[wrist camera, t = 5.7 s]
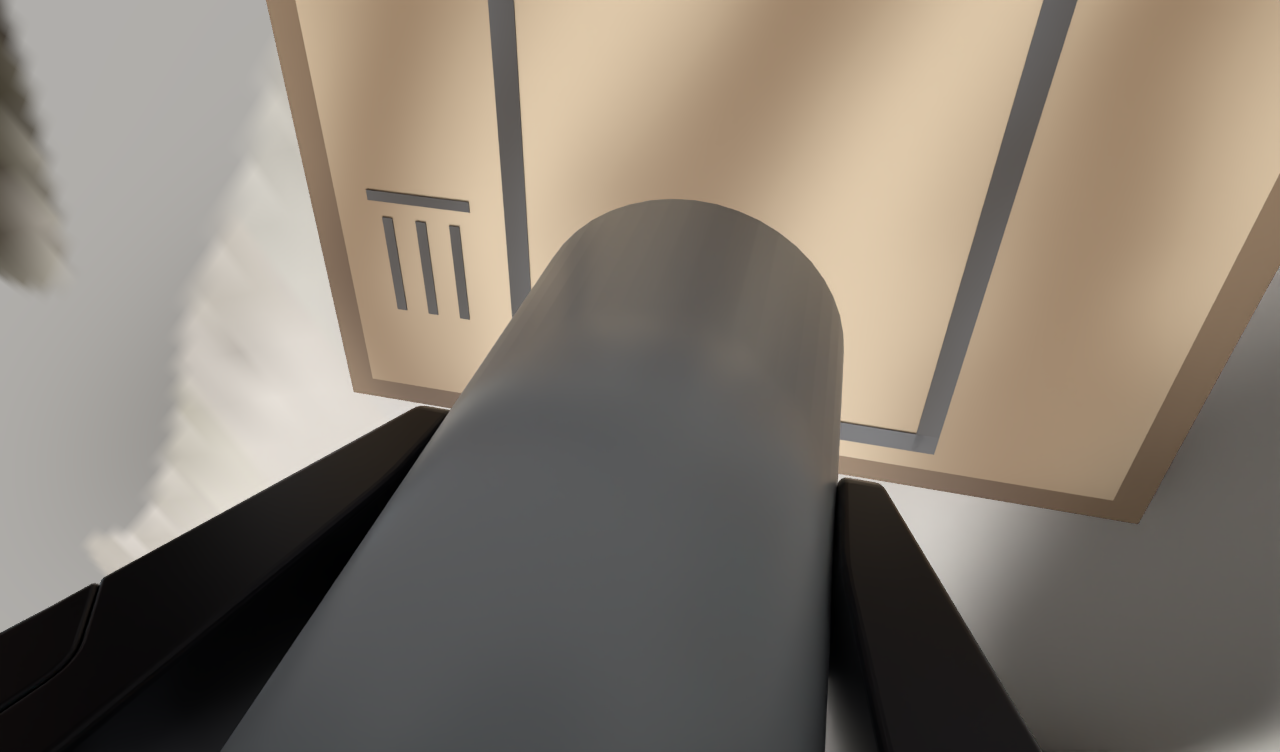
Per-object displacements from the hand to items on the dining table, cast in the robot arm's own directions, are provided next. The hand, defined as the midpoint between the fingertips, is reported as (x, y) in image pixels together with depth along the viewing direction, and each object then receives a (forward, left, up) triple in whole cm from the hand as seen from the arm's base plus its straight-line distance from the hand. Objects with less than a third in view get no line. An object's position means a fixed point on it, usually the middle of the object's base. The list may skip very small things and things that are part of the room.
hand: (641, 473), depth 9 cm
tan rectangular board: (0, 0, -10) cm, 10 cm away
